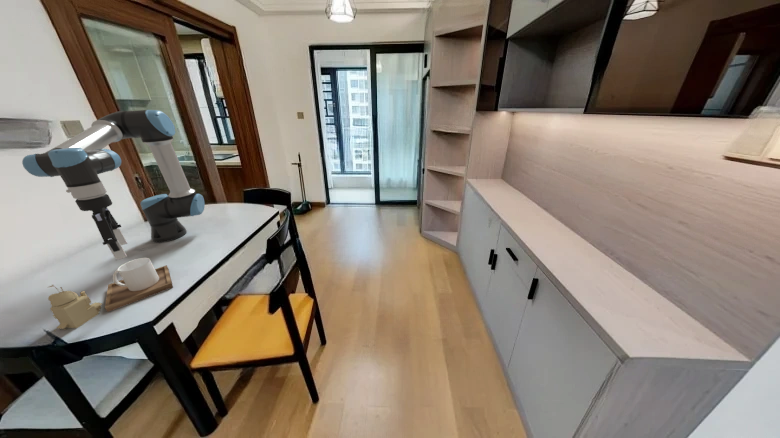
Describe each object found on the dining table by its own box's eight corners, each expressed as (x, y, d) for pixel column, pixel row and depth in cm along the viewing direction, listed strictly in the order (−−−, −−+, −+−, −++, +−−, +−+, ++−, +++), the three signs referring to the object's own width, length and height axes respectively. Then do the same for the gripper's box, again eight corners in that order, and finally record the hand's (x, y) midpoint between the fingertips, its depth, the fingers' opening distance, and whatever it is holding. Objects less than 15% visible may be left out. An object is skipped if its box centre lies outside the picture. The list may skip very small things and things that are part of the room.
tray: (110, 288, 99) (108, 284, 98) (168, 269, 110) (166, 265, 109) (107, 312, 87) (104, 307, 86) (173, 287, 98) (171, 283, 97)
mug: (164, 275, 103) (155, 256, 100) (151, 289, 95) (140, 268, 92) (130, 280, 101) (119, 261, 97) (113, 295, 93) (101, 274, 89)
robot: (88, 307, 89) (64, 272, 83) (108, 308, 88) (85, 273, 82) (49, 331, 80) (19, 293, 74) (71, 332, 79) (42, 294, 73)
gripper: (79, 191, 89) (109, 243, 98) (67, 209, 72) (105, 269, 81) (109, 186, 93) (135, 236, 102) (104, 202, 77) (136, 259, 86)
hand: (122, 251), depth 92 cm, fingers open, 13 cm apart
